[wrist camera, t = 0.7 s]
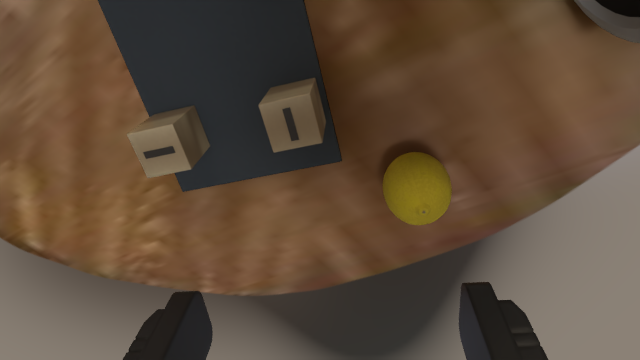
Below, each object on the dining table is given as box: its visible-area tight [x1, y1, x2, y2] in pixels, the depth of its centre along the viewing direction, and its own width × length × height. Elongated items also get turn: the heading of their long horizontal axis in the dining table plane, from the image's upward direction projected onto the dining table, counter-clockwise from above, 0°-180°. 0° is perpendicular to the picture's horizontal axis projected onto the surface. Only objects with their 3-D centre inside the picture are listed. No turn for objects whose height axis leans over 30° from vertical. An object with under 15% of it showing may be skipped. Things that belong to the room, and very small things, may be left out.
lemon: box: [383, 152, 452, 225], centre depth 34 cm, size 6×6×8 cm
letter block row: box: [127, 78, 326, 178], centre depth 34 cm, size 4×15×5 cm, turn 104°
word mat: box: [98, 0, 342, 192], centre depth 33 cm, size 28×16×1 cm, turn 14°
